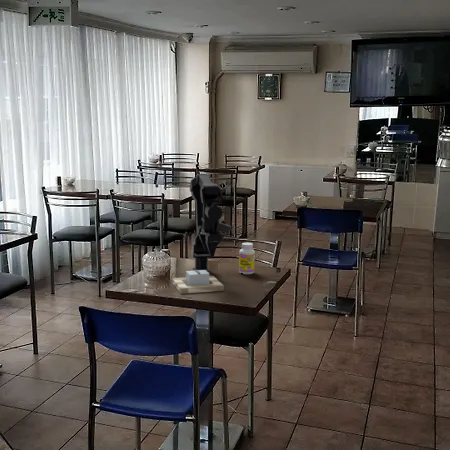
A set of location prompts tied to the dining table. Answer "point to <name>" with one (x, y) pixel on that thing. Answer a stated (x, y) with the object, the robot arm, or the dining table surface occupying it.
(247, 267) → the supplement bottle
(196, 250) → the robot arm
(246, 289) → the dining table surface
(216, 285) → the birch pocket board
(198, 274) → the grey-blue cabinet box
